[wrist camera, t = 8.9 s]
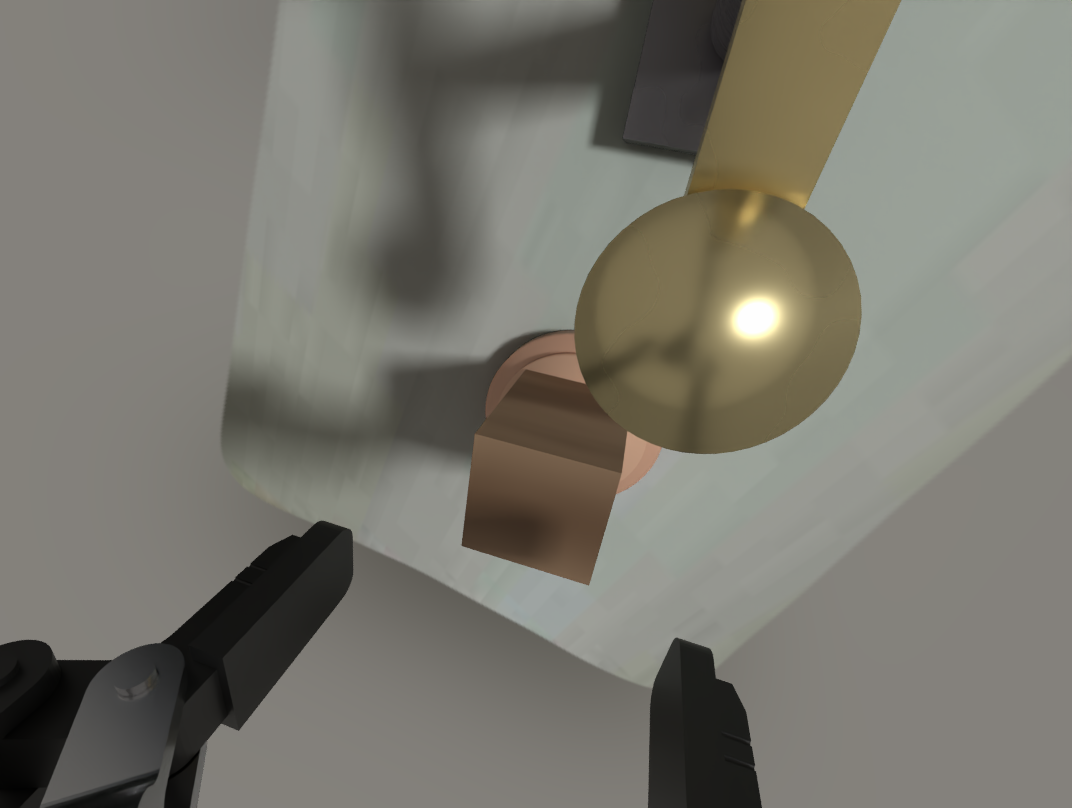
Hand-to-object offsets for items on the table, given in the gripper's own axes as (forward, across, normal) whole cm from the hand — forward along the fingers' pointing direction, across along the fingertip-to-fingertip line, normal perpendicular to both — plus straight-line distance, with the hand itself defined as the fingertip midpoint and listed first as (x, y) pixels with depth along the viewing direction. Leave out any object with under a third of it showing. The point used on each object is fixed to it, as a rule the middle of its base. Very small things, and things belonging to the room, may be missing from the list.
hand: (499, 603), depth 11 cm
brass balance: (+12, -2, -14) cm, 18 cm away
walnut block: (+10, 0, 0) cm, 10 cm away
